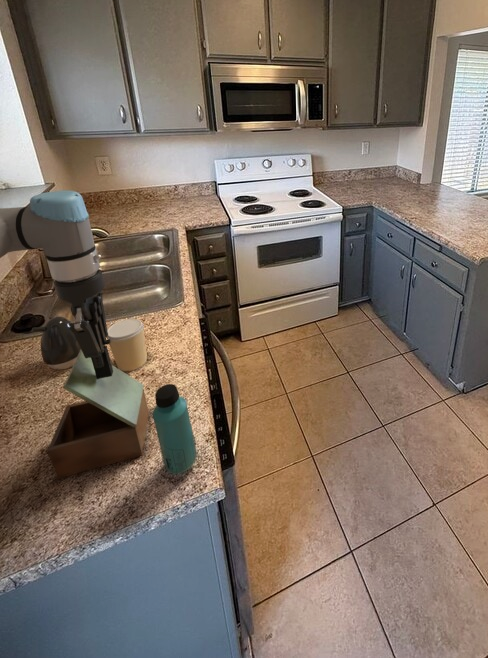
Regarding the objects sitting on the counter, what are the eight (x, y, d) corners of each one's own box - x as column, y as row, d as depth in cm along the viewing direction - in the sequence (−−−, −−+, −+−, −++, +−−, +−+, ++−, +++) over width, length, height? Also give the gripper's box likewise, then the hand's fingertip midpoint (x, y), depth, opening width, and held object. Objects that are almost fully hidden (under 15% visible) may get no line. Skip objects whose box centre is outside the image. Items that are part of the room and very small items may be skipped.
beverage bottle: (204, 453, 77) (191, 380, 70) (186, 484, 71) (170, 407, 64) (177, 447, 78) (162, 374, 71) (157, 477, 72) (139, 400, 65)
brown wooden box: (57, 478, 72) (46, 450, 69) (75, 431, 82) (66, 405, 80) (142, 455, 77) (135, 428, 74) (149, 412, 87) (143, 387, 84)
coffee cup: (152, 348, 109) (145, 315, 105) (147, 369, 101) (140, 333, 97) (118, 355, 107) (109, 321, 103) (110, 377, 98) (101, 340, 94)
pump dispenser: (43, 362, 104) (28, 318, 99) (84, 346, 111) (72, 304, 106) (48, 381, 97) (32, 334, 92) (92, 363, 104) (79, 318, 99)
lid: (62, 388, 66) (65, 385, 66) (80, 349, 77) (83, 346, 77) (133, 427, 74) (136, 425, 74) (141, 387, 84) (144, 385, 84)
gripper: (91, 287, 62) (119, 393, 70) (108, 257, 73) (130, 351, 81) (40, 294, 59) (74, 403, 67) (66, 262, 71) (93, 359, 79)
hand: (105, 375), depth 74 cm, fingers closed
